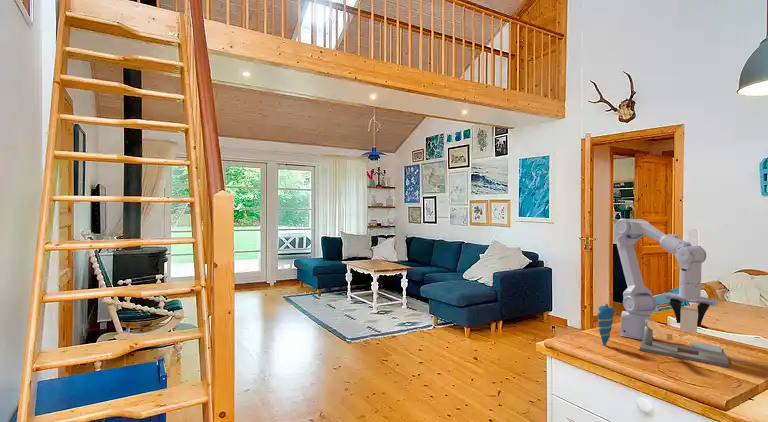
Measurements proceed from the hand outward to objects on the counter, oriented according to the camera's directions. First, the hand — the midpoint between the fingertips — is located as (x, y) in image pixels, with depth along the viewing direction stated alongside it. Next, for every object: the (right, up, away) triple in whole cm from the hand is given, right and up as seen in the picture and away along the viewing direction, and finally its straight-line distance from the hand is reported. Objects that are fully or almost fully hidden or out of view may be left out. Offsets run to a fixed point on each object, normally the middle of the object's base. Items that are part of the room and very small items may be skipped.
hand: (688, 324), depth 137 cm
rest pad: (+11, -10, +7) cm, 16 cm away
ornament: (-23, -9, +7) cm, 26 cm away
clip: (-11, -2, -1) cm, 11 cm away
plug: (0, -2, 0) cm, 2 cm away
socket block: (-1, -10, +1) cm, 10 cm away
